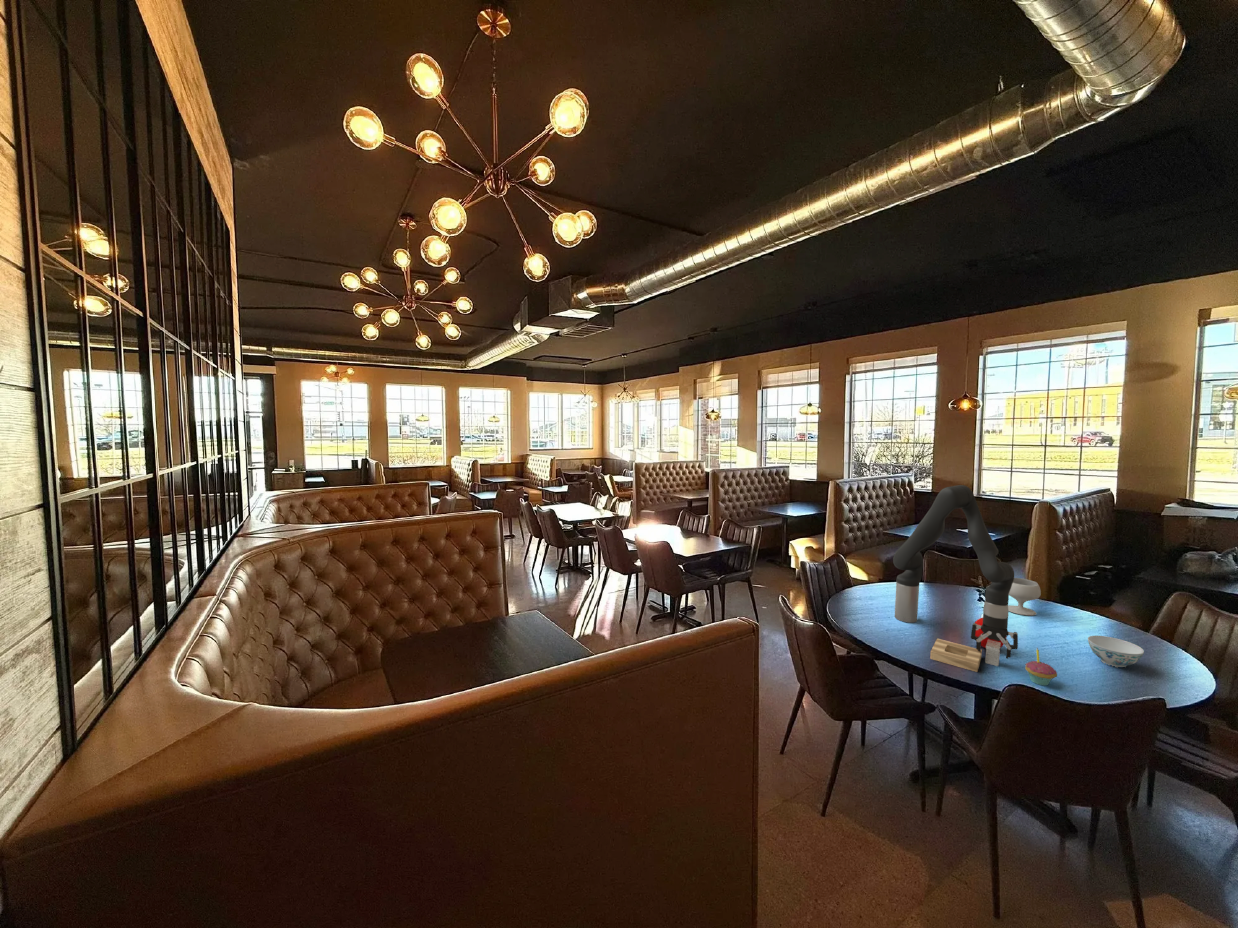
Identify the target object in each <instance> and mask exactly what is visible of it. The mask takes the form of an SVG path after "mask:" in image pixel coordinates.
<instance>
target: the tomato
mask: <svg viewBox="0 0 1238 928" xmlns="http://www.w3.org/2000/svg"><path fill="white" fill-rule="evenodd" d="M974 623H976V624H977V625H981V626H982V624H983V617H980V618H978V619H977V620H976V621H974ZM982 633H983V631H982V630H981V629H978V630H976V634H975V636H977V637H978V636H980V635H981V634H982ZM1007 637H1008V636H1007ZM1007 637H1006V639H1007ZM988 640H992V641H996V640H994V639H989V638H987V637H986V638H985V639H983V640H982V641H981V648H984V649H986V644H987V641H988ZM996 642H1000V643H1001V645H1000V649H1001V648H1002V647H1003V646H1005V645H1004V644H1003V643H1002V641H996Z"/></svg>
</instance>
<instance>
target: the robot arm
mask: <svg viewBox="0 0 1238 928" xmlns="http://www.w3.org/2000/svg"><path fill="white" fill-rule="evenodd" d="M957 509H961V510H962V512H963V513H964V515H965V517H966V521H967V538H968V540H969V543H970V545H971V546H972V548H973V550H974V552H975V554H976V555H977V558H978V559H977V560H978V564H979V567H980V571H981V573H982V574H983V576H984V577H985V579H986V580H988V581H989V582H990V585H988V586H987V587H986V589H985V596H984V597H985V598H984V605H983V609H982V611H983V613H982V618H983V624H982V626H981V625H977V624H976V623H975V622H973V624H972V626H971V632H970V633H971V635H970V639H971V640H973V641H975V648H976V649H977V650H978V651H979V652H980V651H981V650H982V646H981V641H982V640H983V639H985V638H986V637H987V638H989V639H994V640H996V641H1002V643H1003V644H1004V645H1003V646H1005V647H1006V650H1005V651H1006V652H1005V659H1009V658H1011V657H1012V650H1015V651H1017V650H1018V649H1019V648H1018V647H1019V640H1018V639H1019V636H1018V635H1019V634H1018V632H1017V631H1014V632H1011V631H1009V630H1008V626H1009V625H1008V624H1009V623H1008V622H1009V612H1010V611H1009V609H1008V605H1009V599H1010V598H1009V597H1010V596H1009V592H1010V589H1011V587H1012V584H1013V580H1014V578H1015V571H1014V568H1013V567H1012V565H1010V564H1009V563H1007V562H1005V561H998V560H997V556H998V554H999V548H997V546H996V544H995V542H994V540H993V538H992V536H991V535H990V533H989V531H988V529H987V526H986V525H985V522H984V518H983V517H982V516H983V515H982V513H981V511H980V508H979V505H978V502H977V500H976V497H975V494H974V493H973V491H972V489H971V488H970V487H969V486H967V485H964V484H963V485H962V484H958V485H951V486H947V487H944V488H942V489H941V490H940V491H939V492H938V494H937V495H936V497H935V499H934V501H933V503H932V505H931V506H930V508H929V510H928V511H927V513H926V514H925V515H924V517H923V518H922V519H921V521H920V522H919V523H918V525H917V526H916V527H915V529H914V530H913V531H912V533H911V534H910V535H909V537H908V538H907V539H906V541H905V542H903V544H902V545H901V546H900V547H899V548H898V549H897V550H896V551H895V552H894V554H893V557H892V563H893V565H894V567H895V568H896V569H898V570H902V573H900V574H898V575H897V576H896V581H895V583H896V585H895V601H894V618H895V619H896V620H897V621H900V622H903V623H917V622H918V612H919V597H920V595H919V594H920V584H921V583H920V582H921V580H922V577H923V576H922V575H923V568H924V557H923V555H922V553H921V551H923V550H925V549H926V548H928V547H930V546H932V545H933V544H935V543H936V542H937V541H938V540H939V538H940V537H941V536H942V535H943V533H944V531H945V525H946V524H945V520H946V519H947V517H948V516H949V515H950V514H951V513H952V512H953V511H955V510H957ZM903 571H904V572H903ZM978 629H981V630H982V631H983V633H982V634H981V635H980V636H978V637H977V636H975V634H976V630H978ZM1008 636H1010V638H1011V639H1012V641H1013V643H1012V644H1011V643H1010V642H1009V640H1008V639H1007V638H1006V637H1008Z"/></svg>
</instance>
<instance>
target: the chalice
mask: <svg viewBox="0 0 1238 928" xmlns="http://www.w3.org/2000/svg"><path fill="white" fill-rule="evenodd" d="M1041 592H1042V591H1041V587H1040V585H1039V584H1038V582H1037V581H1033V580H1030V579H1027V578H1021V577H1014V580H1013V584H1012V587H1011V589H1010V592H1009V597H1011V598H1013V599H1014V600H1015V601H1016V602H1017V605H1014V604H1013V605H1009V604H1008V609H1009V612H1010V613H1013V614H1017V615H1021V616H1028V617H1029V616H1030V617H1032V616H1036V615H1037V612H1036V611H1035V610H1033V609H1031V608H1028V607H1024V604H1025V603H1026V602H1030V601H1034V600H1038V599H1039V598H1040V597H1041V594H1042V593H1041Z"/></svg>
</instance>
